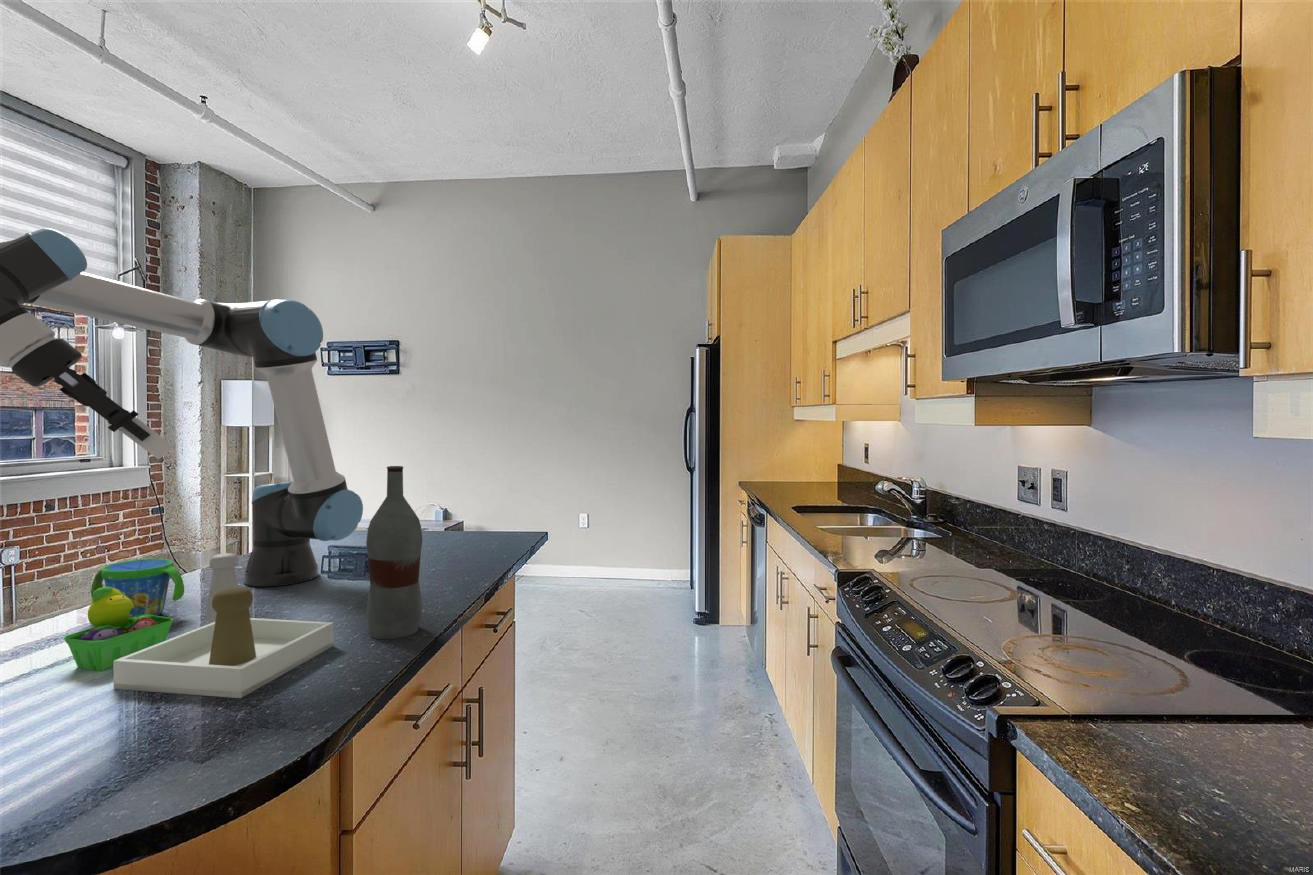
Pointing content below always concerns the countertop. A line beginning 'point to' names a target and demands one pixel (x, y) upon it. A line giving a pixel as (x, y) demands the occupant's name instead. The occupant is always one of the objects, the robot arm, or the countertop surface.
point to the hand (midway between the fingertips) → (165, 451)
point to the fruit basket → (114, 631)
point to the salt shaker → (221, 579)
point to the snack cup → (142, 583)
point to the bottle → (394, 564)
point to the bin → (189, 672)
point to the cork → (232, 628)
